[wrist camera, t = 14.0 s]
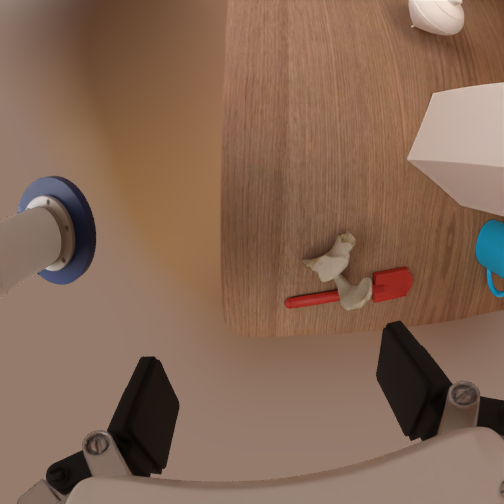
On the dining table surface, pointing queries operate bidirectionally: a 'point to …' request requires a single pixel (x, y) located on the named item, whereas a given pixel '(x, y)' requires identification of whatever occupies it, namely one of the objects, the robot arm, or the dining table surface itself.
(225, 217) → the dining table surface
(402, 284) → the red toy shovel
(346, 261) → the bone
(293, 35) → the dining table surface
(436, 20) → the spinning top
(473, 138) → the milk
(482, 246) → the mug
